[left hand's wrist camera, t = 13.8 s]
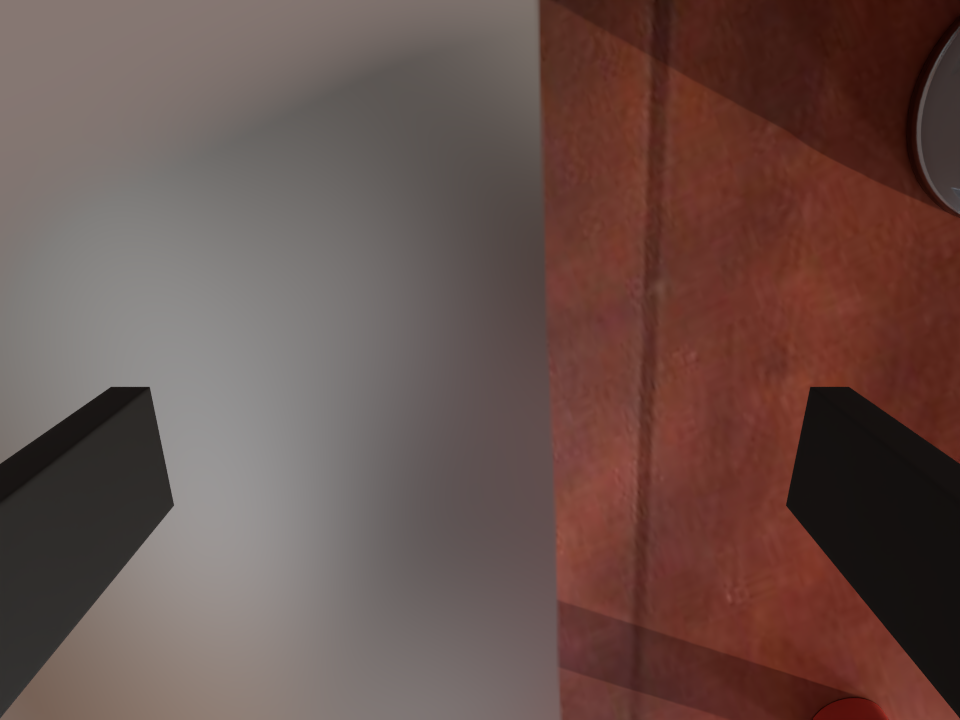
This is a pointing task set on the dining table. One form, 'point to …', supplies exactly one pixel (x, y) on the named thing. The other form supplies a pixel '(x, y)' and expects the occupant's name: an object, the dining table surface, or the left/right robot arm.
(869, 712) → the canister
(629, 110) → the dining table surface
